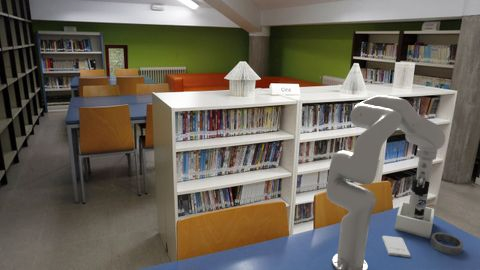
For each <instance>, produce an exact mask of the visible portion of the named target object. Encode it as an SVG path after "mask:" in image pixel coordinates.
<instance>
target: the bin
mask: <svg viewBox="0 0 480 270" xmlns="http://www.w3.org/2000/svg"><path fill="white" fill-rule="evenodd" d="M408 207H409V202H406V201H403V200H401V201H400V204H399V208H398V210H397V215H396V218H395V219H396V220H395V223H394V224H395V225H394V230H396V231H400V232H404V233H407V234H411V235H416V236H418V237H422V238H426V239H430V240H431V236H432V230H433V224H434V215H435V214H434V213H435V208H432V207H429V206H426V207H425V213H424V218H423V220H419V219H415V218H411V217H407V213H408Z"/></svg>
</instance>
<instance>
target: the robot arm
mask: <svg viewBox="0 0 480 270" xmlns="http://www.w3.org/2000/svg"><path fill="white" fill-rule="evenodd" d="M349 117H350V118H349V119H350V121H351V124H353V126H355V127H357V128H361V129H364V131H363V132H362V133H361V134H360V135H359V136H358V137H357V138H356V140H355V142H354V146H353V150H352V151H348V150H345V149H344V150H338V151H337V152H336V153H335V154H334V155H333V156H332V159H331V161H330V164H329V169H328V176H327V184H326V193H325V194H326V198H327V200H328V201H329V202H331V203H333V204H334V205H336V206H339V207H340V208H343V209H344V210H346V211H348V213H347V214H345V215H344V216H343V217H342V219H341V221H340V229H339V237H338V245H337V253H336V254H335V255H334V256H333V257H332V260H331V261H332V262H331V263H332V266H333V267H334V268H335V270H368V263H367V262H366V260H365V255H366V248H367V243H368V234H369V229H370V222H371V217H372V214H373V212H374V209H375V206H376V202H377V201H376V200H377V199H376V196H375V194H374V193H373V191H371V190H370V189H368V188H366V187H364V186H369V185H371V184H372V183H373V182H374V181H375V178H376V177H377V176H376V175H377V171H378V165H379V159H380V154H381V150H382V148H383V145H384V143H385V142H386V141H387V140H388V139H389V137H391V136H392V135H393V134H394V132H396V131H397V130H398V129H399V130H400V131H401V132H403V133H404V134H405V140H406V141H407V142H408V143H409V144H412V145H416V146H417V149H416V157H417V158H418V162H417V169H416V178H417V180H418V183H417V186H416V190H415V195H419V196H423V193H424V188H425V187H424V184H425V181H427V182H430V178H431V172H432V167H433V163H434V162H433V161H434V160H436V158H437V154H438V150H440V149H441V148H443V146H444V145H445V143H446V135H445V132H444V130H443V129H442V128H441V126H439V125H438V124H437V123H435V122H433V121H431V120H429V119H427V118H425V117H424V116H422V115H420V114H419V113H418V112H417V111H416V110H415V108H414V107H413V106H412V105H411V103H410V102H409V101H408V100H407V99H404V98H401V97H398V96H389V95H385V94H381V95H379V94H378V95H374V96H372V97H370V98H367V99H365V100H363V101H361V102H359V103H357V104H356V105H354V106H353V108H352V110H351V112H350V115H349ZM419 178H420V179H419ZM423 179H424V180H423ZM419 181H420V182H419ZM353 182H354V183H353ZM359 184H360V185H359ZM361 185H364V186H361Z"/></svg>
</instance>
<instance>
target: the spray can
mask: <svg viewBox="0 0 480 270" xmlns="http://www.w3.org/2000/svg"><path fill="white" fill-rule="evenodd" d="M419 179H420V178H419ZM423 180H424V179H423ZM419 182H420V181H419ZM417 183H418V180H417V177H415V178H413V180H412V184H411V190H410V195H409V202H408V203H409V207H408V213H407V217H411V218H415V219H419V220H423V218H424V213H425V207H427V202H428V195H429V188H430V184H431V183H430V181H429V182H427V181H425V184H424V187H425V188H424V193H423V196H419V195H415V190H416V186H417Z"/></svg>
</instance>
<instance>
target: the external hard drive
mask: <svg viewBox="0 0 480 270" xmlns="http://www.w3.org/2000/svg"><path fill="white" fill-rule="evenodd" d="M381 239H382V241H383V243H384V246H385V250H386V252H387V255H389V256H396V257H397V256H399V257H405V258H411V257H412V256H411V253H410V251H409V248H408V247H407V245H406V242H405V240H404V239H403V237H399V236H390V235H382V237H381Z"/></svg>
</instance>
